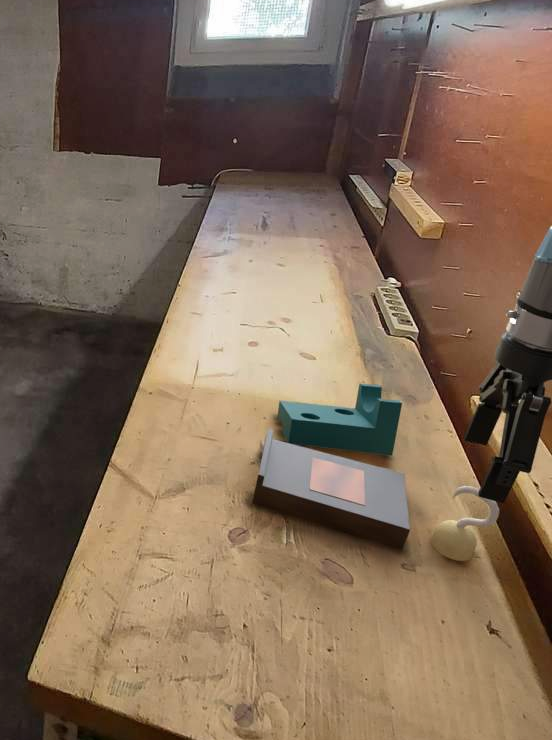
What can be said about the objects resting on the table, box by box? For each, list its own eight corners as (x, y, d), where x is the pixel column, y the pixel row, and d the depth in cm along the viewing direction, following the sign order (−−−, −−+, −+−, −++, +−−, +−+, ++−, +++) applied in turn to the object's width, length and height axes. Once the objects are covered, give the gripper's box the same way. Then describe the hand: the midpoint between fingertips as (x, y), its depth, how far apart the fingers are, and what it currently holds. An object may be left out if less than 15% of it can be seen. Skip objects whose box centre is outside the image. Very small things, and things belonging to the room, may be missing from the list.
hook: (423, 541, 89) (447, 483, 83) (442, 529, 91) (467, 472, 85) (465, 570, 84) (494, 510, 78) (485, 556, 86) (514, 497, 80)
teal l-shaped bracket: (370, 433, 115) (379, 385, 113) (392, 455, 105) (402, 403, 103) (276, 422, 119) (283, 376, 117) (288, 443, 109) (295, 392, 107)
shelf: (396, 493, 98) (407, 464, 95) (402, 550, 87) (414, 520, 84) (262, 456, 108) (268, 428, 105) (251, 503, 97) (258, 474, 94)
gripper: (487, 299, 83) (441, 415, 93) (525, 379, 64) (462, 516, 74) (553, 308, 80) (498, 428, 90) (614, 396, 61) (536, 537, 70)
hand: (482, 468), depth 82 cm, fingers open, 13 cm apart
